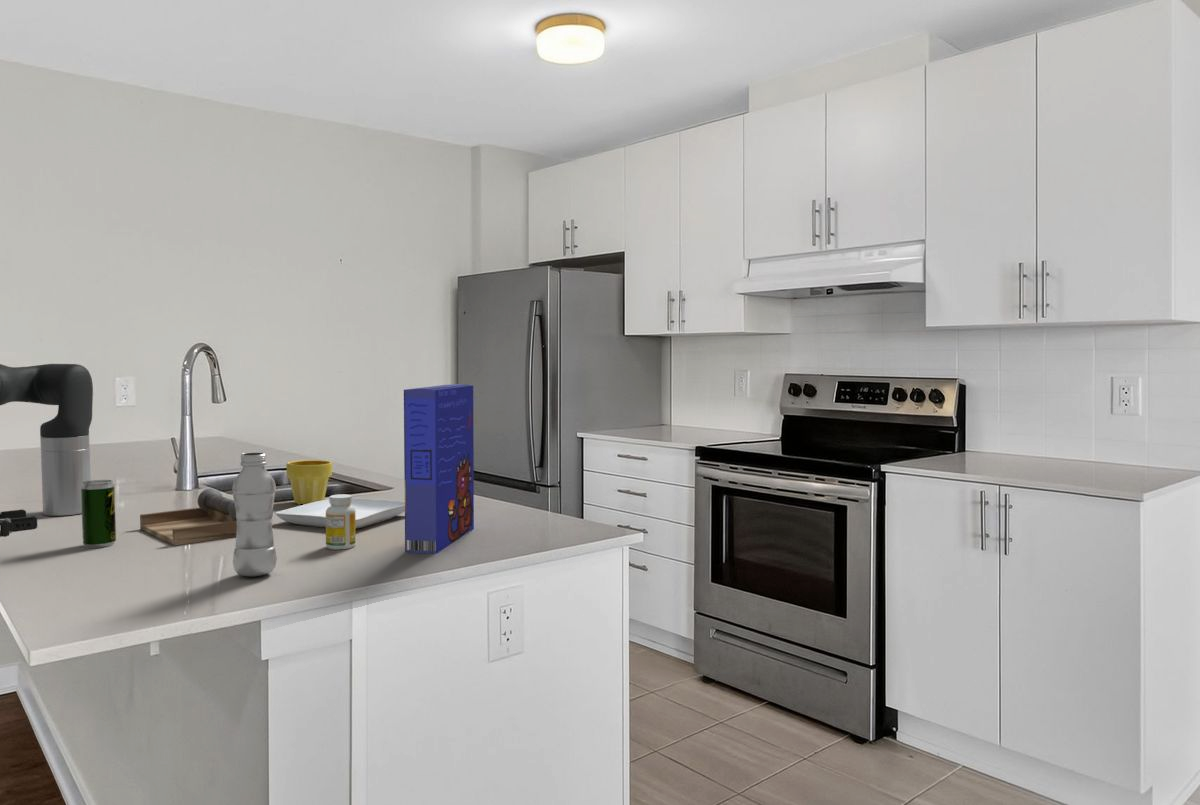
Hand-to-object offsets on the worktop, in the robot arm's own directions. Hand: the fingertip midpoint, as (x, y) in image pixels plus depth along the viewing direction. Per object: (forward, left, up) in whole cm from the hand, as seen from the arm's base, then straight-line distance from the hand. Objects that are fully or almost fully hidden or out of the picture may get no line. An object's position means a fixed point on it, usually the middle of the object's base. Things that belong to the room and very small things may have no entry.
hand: (31, 518), depth 152 cm
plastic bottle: (+41, +23, -7) cm, 47 cm away
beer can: (0, +11, -7) cm, 13 cm away
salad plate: (+10, +56, -7) cm, 57 cm away
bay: (0, +28, -7) cm, 28 cm away
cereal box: (+40, +60, -7) cm, 72 cm away
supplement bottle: (+32, +43, -7) cm, 54 cm away
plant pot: (-15, +60, -7) cm, 62 cm away
